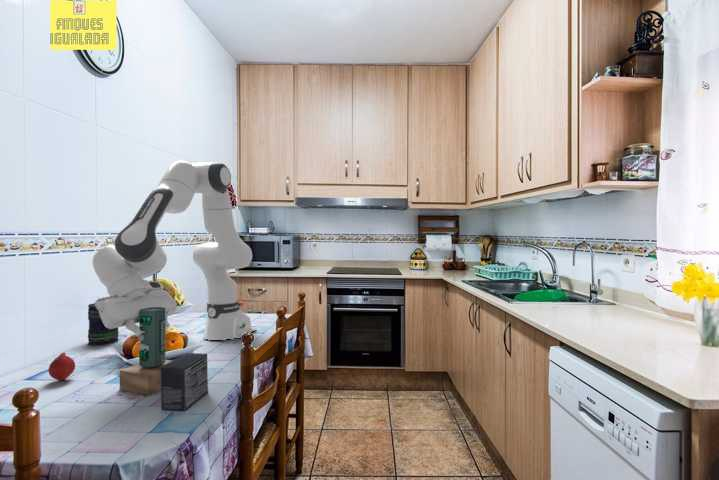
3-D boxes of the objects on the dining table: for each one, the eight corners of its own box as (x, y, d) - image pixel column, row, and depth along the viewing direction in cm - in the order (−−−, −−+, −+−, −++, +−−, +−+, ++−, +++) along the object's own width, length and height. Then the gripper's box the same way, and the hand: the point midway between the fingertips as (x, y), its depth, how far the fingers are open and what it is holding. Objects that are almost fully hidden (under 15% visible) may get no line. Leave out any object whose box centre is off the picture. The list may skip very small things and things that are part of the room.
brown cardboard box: (156, 374, 108) (156, 357, 108) (183, 380, 104) (183, 362, 104) (119, 388, 98) (119, 370, 98) (148, 395, 93) (148, 376, 93)
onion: (59, 385, 100) (59, 356, 100) (43, 384, 101) (43, 355, 101) (80, 377, 105) (80, 350, 105) (64, 376, 106) (64, 349, 106)
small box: (185, 391, 96) (185, 352, 96) (209, 392, 95) (209, 353, 95) (159, 410, 86) (159, 366, 85) (185, 412, 85) (185, 367, 85)
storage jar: (91, 340, 144) (92, 302, 144) (121, 337, 148) (121, 301, 148) (84, 347, 135) (84, 307, 135) (115, 344, 139) (115, 305, 139)
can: (141, 361, 102) (141, 308, 102) (166, 358, 105) (166, 306, 105) (138, 368, 97) (138, 312, 97) (163, 365, 99) (163, 310, 99)
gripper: (97, 291, 94) (123, 332, 90) (166, 282, 113) (190, 316, 109) (86, 307, 95) (111, 348, 92) (156, 295, 114) (179, 329, 111)
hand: (154, 331), depth 100 cm, fingers closed on can, 6 cm apart
